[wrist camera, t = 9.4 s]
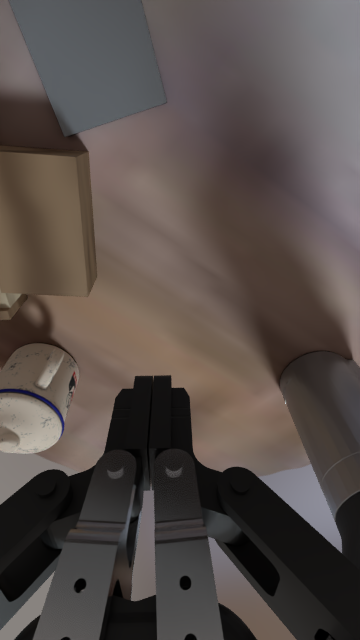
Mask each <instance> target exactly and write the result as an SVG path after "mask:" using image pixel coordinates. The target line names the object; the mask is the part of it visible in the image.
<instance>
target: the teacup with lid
mask: <svg viewBox="0 0 360 640" xmlns="http://www.w3.org/2000/svg"><path fill="white" fill-rule="evenodd" d="M78 380H79V370H78V366H77V364H76V362H75V361H74V359H73V358H72V357H71V356H70V355H69V354H68V353H66V352H65V351H63V350H62V349H60V348H58V347H55V346H53V345H49V344H43V343H33V344H28V345H24V346H22V347H20V348H18V349H17V350H16V351H15V352H14V353H13V354H12V355H11V356H10V358H9V359H8V361H7V362H6V364H5V365H4V367H3V368H2V370H1V371H0V450H1V451H3V452H6V453H12V452H13V453H24V454H26V453H36V452H40V451H43V450H46V449H48V448H49V447H51V446H52V445H54V444H55V443H56V442H57V441H58V439H59V438H60V437H61V435H62V433H63V431H64V421H65V418H66V415H67V412H68V409H69V406H70V404H71V401H72V398H73V395H74V392H75V389H76V386H77V383H78Z"/></svg>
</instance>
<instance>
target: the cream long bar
mask: <svg viewBox="0 0 360 640" xmlns="http://www.w3.org/2000/svg"><path fill="white" fill-rule="evenodd" d="M26 299H27V295H26V294H14V293H1V290H0V320H11V318H12V317H13V316H14V315H15V313H16V312H17V311H18V310H19V308H20V307H21V306H22V304H23V303H24V302H25V301H26Z"/></svg>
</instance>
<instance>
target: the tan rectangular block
mask: <svg viewBox="0 0 360 640" xmlns="http://www.w3.org/2000/svg"><path fill="white" fill-rule="evenodd" d="M96 278H97V267H96V253H95V238H94V223H93V208H92V194H91V179H90V164H89V152H87V151H73V150H60V149H46V148H32V147H19V146H5V145H0V290H1V293H14V294H36V295H57V296H79V297H88V296H89V294H90V291H91V289H92V287H93V285H94V282H95V280H96Z"/></svg>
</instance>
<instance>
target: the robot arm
mask: <svg viewBox="0 0 360 640" xmlns="http://www.w3.org/2000/svg"><path fill="white" fill-rule="evenodd" d="M280 389H281V392H282V395H283V398H284V400H285V403H286V404H287V407H288V409H289V412H290V414H291V417H292V419H293V422H294V424H295V426H296V429H297V431H298V434H299V436H300V438H301V441H302V443H303V446H304V448H305V450H306V453H307V455H308V458H309V460H310V462H311V465H312V467H313V470H314V472H315V474H316V477H317V479H318V482H319V484H320V486H321V489H322V491H323V493H324V496H325V498H326V501H327V503H328V505H329V508H330V510H331V513H332V515H333V518H334V520H335V522H336V525H337V528H338V530H339V533H340V535H341V539H342V553H341V552H340V551H338V550H337V549H336V548H335V547H334V546H333V545H332V544H331V543H330V542H328V541H327V540H326V539H325V538H324V537H323V536H322V535H321V534H319V532H318V531H316V530H315V529H314V528H313V527H312V526H311V525H310V524H309V523H308V522H307V521H305V520H304V519H303V518H302V517H301V516H300V515H299V514H298V513H297V512H295V511H294V510H293V509H292V508H291V507H290V506H289V505H288V504H287V503H286V502H285V501H283V500H282V499H281V498H280V497H279V496H278V495H277V494H276V493H275V492H274V491H273V490H271V489H270V488H269V487H268V486H267V485H266V484H265V483H264V482H262V480H260V479H259V478H258V477H257V476H256V475H255V474H254V473H253V472H251V471H250V470H248V469H245V468H242V467H231V468H228V469H226V470H225V471H223V472H219V471H216V470H213V469H210V468H207V467H205V466H204V465H202V464H201V463H200V462H199V461H198V460H197V459H196V457H195V455H194V453H193V446H192V429H191V413H190V397H189V395H188V394H187V392H186V390H185V389H184V388H172V387H171V375H167V376H154V382H153V376H135V381H134V388H133V389H122V390H121V392H120V393H119V394H118V395H117V397H116V398H115V403H114V408H113V413H112V419H111V423H110V428H109V432H108V437H107V442H106V447H105V451H104V454H103V456H102V457H101V458H100V459H99V460H98V461H97V463H96V465H95V466H93V467H92V468H90V469H88V470H86V471H84V472H81V473H78V474H75V475H72V476H67V475H66V474H65V473H64V472H63V471H60V470H55V469H53V470H47V471H44V472H42V473H40V474H38V475H36V476H35V477H34V478H33V479H31V480H30V481H29V482H28V483H26V484H25V485H24V486H23V487H22V488H20V489H19V490H18V491H17V492H16V493H14V494H13V495H12V496H11V497H9V498H8V499H7V500H6V501H5V502H3V503H2V504H1V505H0V630H1V629H2V628H3V626H4V625H5V624H6V623H7V622H8V621H9V620H10V619H11V618H12V617H13V616H14V615H15V613H16V612H17V611H18V610H19V609H20V608H21V607H22V606H23V605H24V604H25V602H26V601H27V600H28V599H29V598H30V597H31V596H32V595H33V594H34V593H35V592H36V591H37V590H38V588H39V587H40V586H41V585H42V584H43V583H44V582H45V581H46V580H47V579H48V578H49V577H50V575H51V574H52V573H53V572H54V571H55V573H54V576H53V579H52V582H51V585H50V588H49V592H48V594H47V598H46V601H45V604H44V607H43V610H42V613H41V615H40V616H38V617H37V618H36V619H35V620H33V621H32V622H31V623H30V624H29V625H28V626H27V627H26V628H24V629H23V631H21V633H20V634H19V635H18V636H17V637H16V639H15V640H257V639H256V638H255V636H254V635H253V633H252V632H251V631H250V629H249V628H248V627H247V626H246V624H245V623H244V622H243V621H242V620H241V619H240V618H239V617H238V616H237V615H236V614H235V613H234V612H232V611H231V610H230V609H228V608H227V607H225V606H224V605H222V604H220V603H218V600H217V593H216V586H215V580H214V574H213V567H212V561H211V554H210V547H209V542H208V537H211V538H214V539H215V540H216V542H217V544H218V545H219V547H220V548H221V549H222V550H223V551H224V553H225V554H226V555H227V556H228V557H229V559H230V560H231V561H232V562H233V563H234V565H235V566H236V567H237V568H238V569H239V571H240V572H241V573H242V574H243V575H244V577H245V578H246V579H247V580H248V581H249V582H250V584H251V585H252V586H253V587H254V589H255V590H256V591H257V592H258V593H259V595H260V596H261V597H262V598H263V600H264V601H265V602H266V603H267V604H268V606H269V607H270V608H271V609H272V610H273V612H274V613H275V614H276V615H277V616H278V617H279V619H280V620H281V621H282V622H283V624H284V625H285V626H286V627H287V628H288V630H289V631H290V632H291V633H292V635H293V636H294V637H295V638H296V639H297V640H360V367H359V366H358V365H357V363H356V362H355V361H354V360H346V359H344V358H343V357H341V356H340V355H338V354H336V353H333V352H327V351H320V352H313V353H309V354H306V355H303V356H301V357H299V358H298V359H296V360H294V361H293V362H292V363H290V364H289V365H288V367H287V368H286V369H285V370H284V372H283V373H282V375H281V378H280ZM151 484H152V490H154V509H155V510H154V511H155V512H154V514H155V571H156V572H155V573H156V595H154V596H151V597H148V598H145V599H142V600H140V601H131V594H132V576H133V567H134V560H135V554H136V547H137V541H138V534H139V528H140V521H141V515H142V505H143V491H145V490H146V491H147V490H150V485H151Z"/></svg>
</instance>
